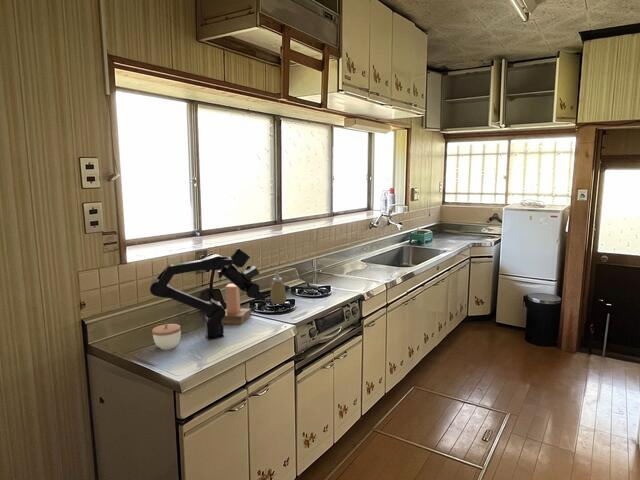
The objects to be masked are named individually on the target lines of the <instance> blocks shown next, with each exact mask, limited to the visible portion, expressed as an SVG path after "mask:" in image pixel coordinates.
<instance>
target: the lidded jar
mask: <svg viewBox="0 0 640 480" xmlns="http://www.w3.org/2000/svg"><path fill="white" fill-rule="evenodd" d="M151 333H152V337H153V341H154V344H155V345H156V346H157V347H158V348H159V349H160V350H163V349H164V350H165V351H166V350H167V351H168V350H171V349H174V348H176V347H177V345H178V344H179V343H180V340H181V335H182V334H181V333H182V332H181V325H180V324H177V323H164V324H160V325H157V326H155V327H154V328H152V330H151ZM164 350H163V351H164Z"/></svg>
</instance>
